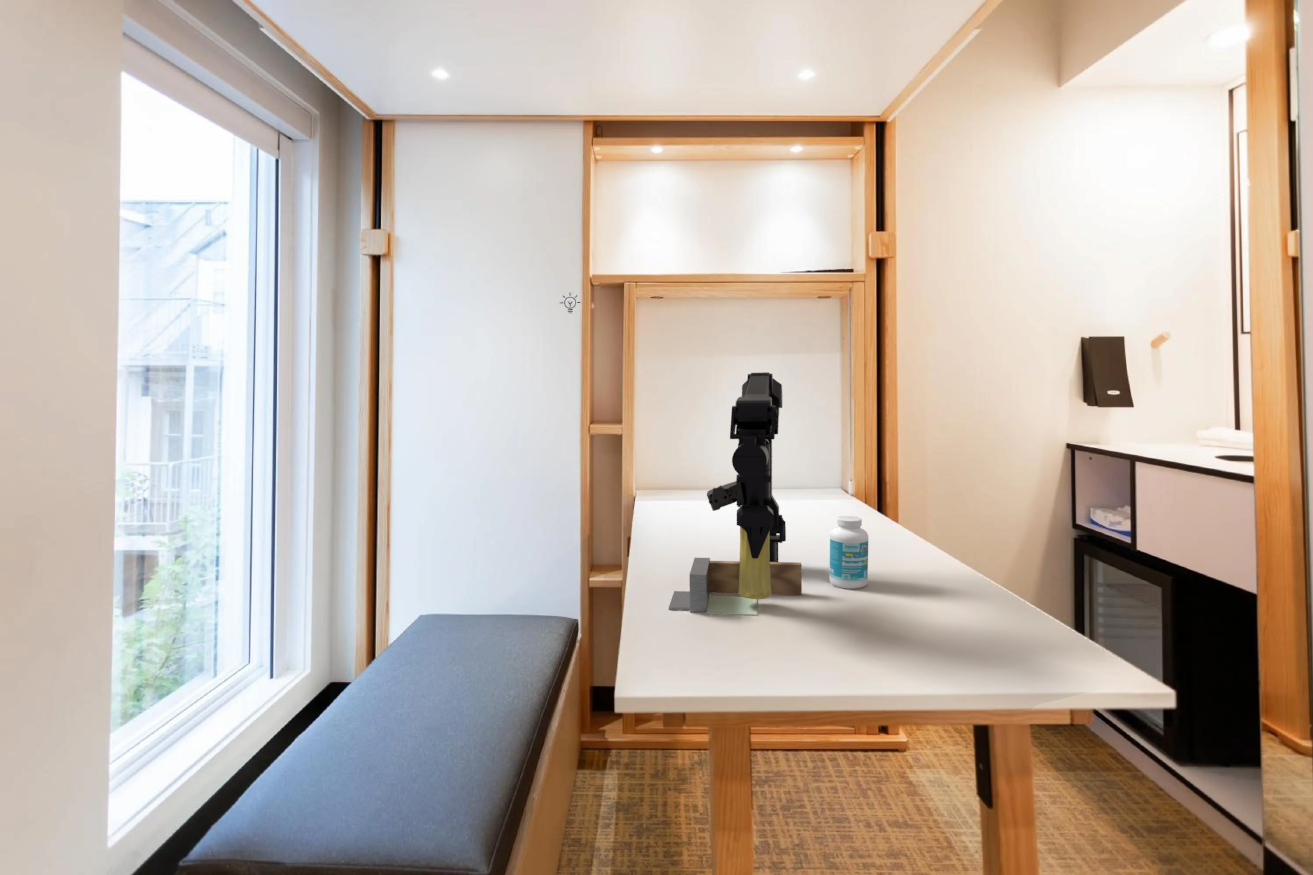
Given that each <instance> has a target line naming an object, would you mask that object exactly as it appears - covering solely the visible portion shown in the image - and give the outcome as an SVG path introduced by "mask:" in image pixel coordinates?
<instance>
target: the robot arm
mask: <svg viewBox="0 0 1313 875" xmlns="http://www.w3.org/2000/svg"><path fill="white" fill-rule="evenodd" d="M782 408H783V385H782V383H780V382H779V381H777V380H776V379H775V378H774V377H773V373H770V372H768V371H767V372H751V373H748V374H747V380H746V381H745V382H744V383H743V384H742V385H741V396H739V397H737V399H736V400H735V405H732V407H731V415H730V418H731V419H730V427H729V428H730V429H729V430H730V432H729V440H738V443H737V448H736V449H735V450H734V452H733V454H732V458H731V464H732V467H733V469H734V471H735V472H736V473H737V474H736V478H735V479H736V480H735V481H732V482H729V483H725V484H723V485H721V484H720V485H719V486H717V487H713V488H712V489H709V490H708V491H707V492H706V497H707V500H708V503H709V505H710V507H711V509H712V511H713V512H715V511H718V510H720V509H721V508H723V507H727V506H729V505H733V504H736V506H737V508H738V509H737V510H736V526H739V528H740V527H742V528H743V529H744V530H745V531H746V533H747V538H748V542H749V547H750V552H751V556H752V558H758V557H759V554H760V552H761V550H762V547H763V545H764V542H765V540H766V538H767V535H768V533H769V531H770V562H779V544H783V542H786V541H787V540H786V539H787V537H786V536H787V535H786V534H787V533H786V532H787V530H786V529H787V528H786V520H784V518H783V514H780V506H779V504H778V502H777V501H776V499H775V497H774V495H773V440H775V438H776V435H779V420H780V419H779V418H780V417H779V416H780V409H782Z"/></svg>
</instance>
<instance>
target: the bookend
mask: <svg viewBox="0 0 1313 875" xmlns="http://www.w3.org/2000/svg"><path fill="white" fill-rule="evenodd" d="M710 561H711V557H694V559H693V561H692V565H691V569H690V572H689V591H686V590H683V591H681V590H674V591H673V593H672V597H671V599H670V603H669V605H668V610H670V611H689V612H690V613H696V614H697V613H698V614H701V613H702V614H706V612H707V608H708V602H709V597H710V596H711V593H710Z"/></svg>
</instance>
